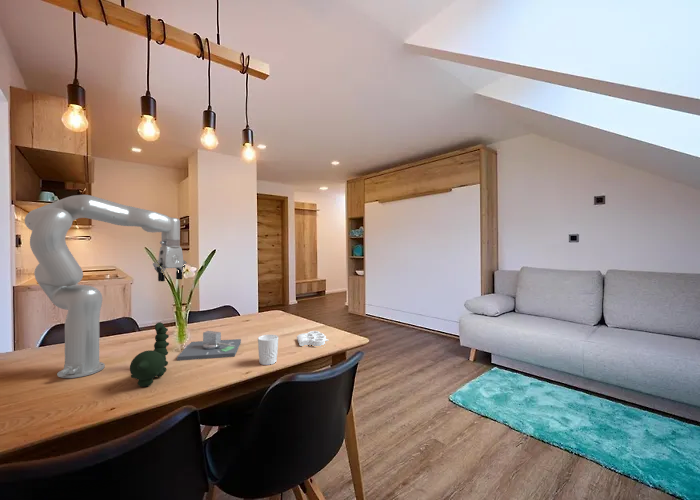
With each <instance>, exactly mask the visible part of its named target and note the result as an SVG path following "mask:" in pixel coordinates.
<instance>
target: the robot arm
mask: <svg viewBox="0 0 700 500" xmlns="http://www.w3.org/2000/svg"><path fill="white" fill-rule="evenodd" d="M85 218H86V219H88V220H89V219H90V220H94V221H99V222H103V223H106V224H111V225H116V226H123V227H138V228H139V227H140V228H141V229H142V230H143V231H144V232H147V233H161V237H160V238H161V240H160V242H159V244H160V245H161V246H159V247H160V248H159V253H158V260H156V261H157V262H158V263H159V264H158V263H157V262H156V261H154V262H152V266H153V267H154V270H155V271H156V273H157V280H158V282H165V280H166V277H165V276H164V275H163V273H165V270H166V269H176V271H175V278H176V280H183V272H184V270H183V267H184V269H185V268H186V265H187V264H188V263H187V260H184V255H183V253H184V252H183V248H182V247H181V220H180V219H179V218H176V217H170V216H168V215H167V214H164V213H160V212H157V211H153V210H148V209H144V208H140V207H139V208H138V207H135V206H130V205H127V204H126V205H125V204H122V203H118V202H115V201H111V200H108V199H104V198H102V197H101V198H100V197H97V196H94V195H90V194H77V195H71V196H67V197H64V198H62V199H61V198H60V199H59V200H56V201H54V202H51V203H48V204H45V205H43V206H40V207H37V208H35V209H32V210H30V211H29V212H28V213H26V215H25V217H24V225H25V226H26V228H28V229H29V230H30V231H31V234H30V236H29V237H30V238H29V247H30V249H31V252H32V254H33V255H34V257H35V258H36V260H37V262H38V264H37V265H36V267H35V268H34V273H33V274H34V279H35V280H36V282H37V284H38V285H39V287H40V288H41V290H43V292H44V293H45V295H46V296H47V297H48V299H49V300H50V301H51V302H52V304H53V305H54V306H55V307H57V308H59V309H61V310H66V311H67V315H66V317H65V321H64V367H63V369H61V370H60V371H58V372H57V374H56V375H57V377H58V378H61V379H74V378H82V377H86V376H90V375H94V374H96V373H98V372H100V371H102V370H103V369H104V368H105V363H104V362H102V361H100V317H101V309H102V305H103V295H102V292H101V290H99V289H98V288H96V287H94V286H92V285H89V284H87V285H86V284H79V283H80V282H81V281H82V280H83V277H84V272H83V269H82V268H81V266H80V264H79V263H78V261H77V260H76V258H75V257H74V255H73V253H72V252H71V251H70V249H69V247H68V245H67V242H66V236H67V234H68V232H69V230H70V229H71V227H72V226H73V222H74V221H75V220H77V219H85ZM155 262H156V263H157V264H156V263H155ZM184 264H186V265H184ZM157 265H158V266H157ZM159 265H160V266H161V267H162V268H161V267H160V266H159ZM183 265H184V266H183ZM162 269H163V270H162ZM161 270H162V271H163V273H162V271H161ZM178 270H179V273H178Z"/></svg>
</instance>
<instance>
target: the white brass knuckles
mask: <svg viewBox="0 0 700 500" xmlns="http://www.w3.org/2000/svg"><path fill="white" fill-rule="evenodd" d="M296 339H297V343H298V346H300V347H301V346H304V345H313V346H321V345H324V344H325V345H326V343H325V341H326V342H328V341H329V338H327V336H326V335H325V334H324V333H322V332H320V331H319V330H311V331H308V332H307V333H300V334H298V335H297V336H296Z"/></svg>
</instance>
